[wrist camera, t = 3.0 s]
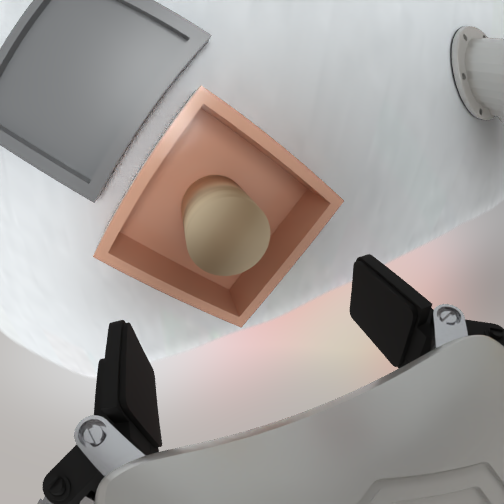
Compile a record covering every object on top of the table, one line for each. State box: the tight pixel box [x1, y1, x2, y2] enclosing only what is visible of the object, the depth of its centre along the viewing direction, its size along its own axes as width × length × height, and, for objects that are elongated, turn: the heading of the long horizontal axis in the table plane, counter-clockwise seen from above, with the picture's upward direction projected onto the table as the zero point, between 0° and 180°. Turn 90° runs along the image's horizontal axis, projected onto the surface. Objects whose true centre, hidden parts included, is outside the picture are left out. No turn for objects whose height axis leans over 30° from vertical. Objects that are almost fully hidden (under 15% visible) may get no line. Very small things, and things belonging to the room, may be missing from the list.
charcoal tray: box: [0, 0, 211, 203], centre depth 14 cm, size 14×14×2 cm
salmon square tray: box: [93, 86, 344, 327], centre depth 21 cm, size 13×13×4 cm
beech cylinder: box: [181, 175, 270, 276], centre depth 20 cm, size 5×5×6 cm
